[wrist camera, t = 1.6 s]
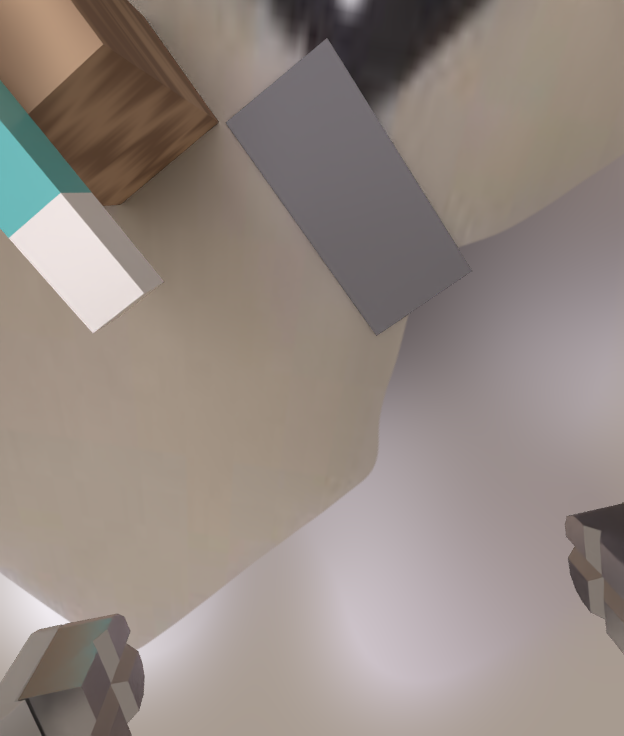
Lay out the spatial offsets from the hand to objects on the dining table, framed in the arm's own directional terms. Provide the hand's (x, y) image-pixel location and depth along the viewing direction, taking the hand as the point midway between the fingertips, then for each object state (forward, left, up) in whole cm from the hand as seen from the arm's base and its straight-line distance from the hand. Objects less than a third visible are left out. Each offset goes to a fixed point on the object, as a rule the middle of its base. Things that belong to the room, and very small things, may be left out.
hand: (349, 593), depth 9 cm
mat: (-6, -3, -43) cm, 44 cm away
